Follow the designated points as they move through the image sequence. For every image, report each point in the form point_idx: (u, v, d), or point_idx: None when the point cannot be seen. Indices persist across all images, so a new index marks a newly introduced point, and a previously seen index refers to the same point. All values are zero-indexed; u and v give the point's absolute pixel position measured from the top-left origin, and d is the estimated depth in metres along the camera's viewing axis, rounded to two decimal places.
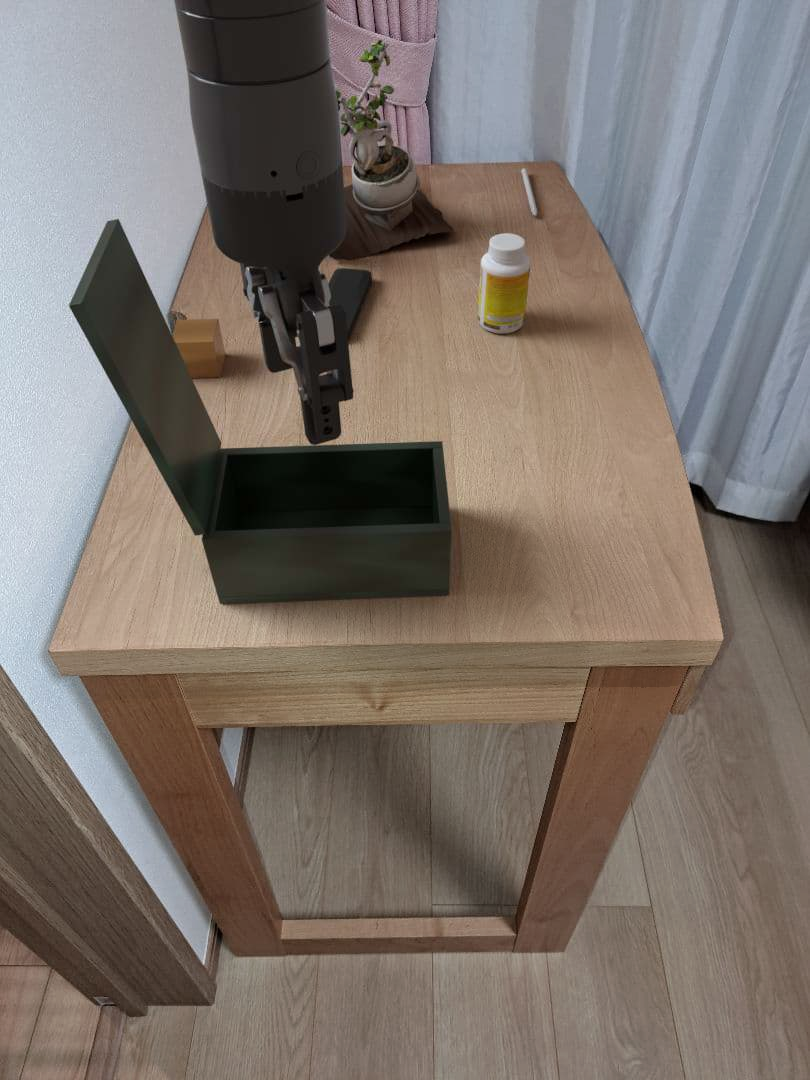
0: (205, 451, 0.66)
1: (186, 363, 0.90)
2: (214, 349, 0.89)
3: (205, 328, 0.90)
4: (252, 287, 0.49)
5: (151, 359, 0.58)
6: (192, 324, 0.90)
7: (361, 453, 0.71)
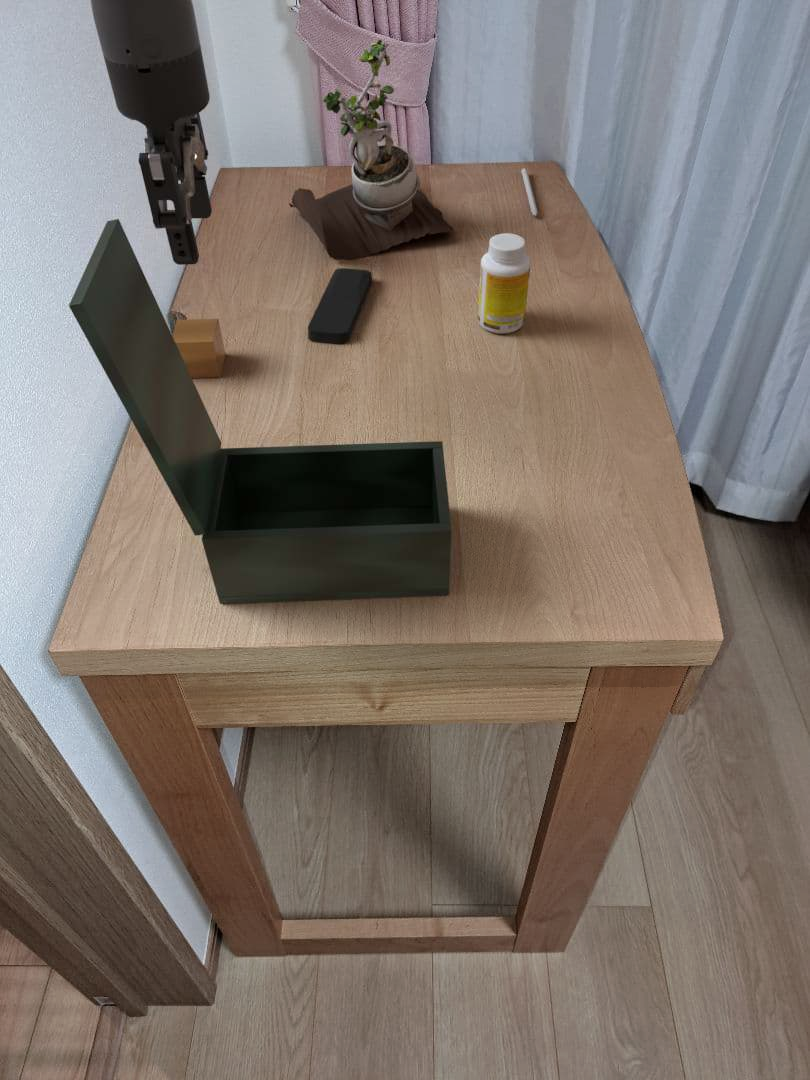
0: (205, 451, 0.66)
1: (186, 363, 0.90)
2: (214, 349, 0.89)
3: (205, 328, 0.90)
4: None
5: (151, 359, 0.58)
6: (192, 324, 0.90)
7: (361, 453, 0.71)
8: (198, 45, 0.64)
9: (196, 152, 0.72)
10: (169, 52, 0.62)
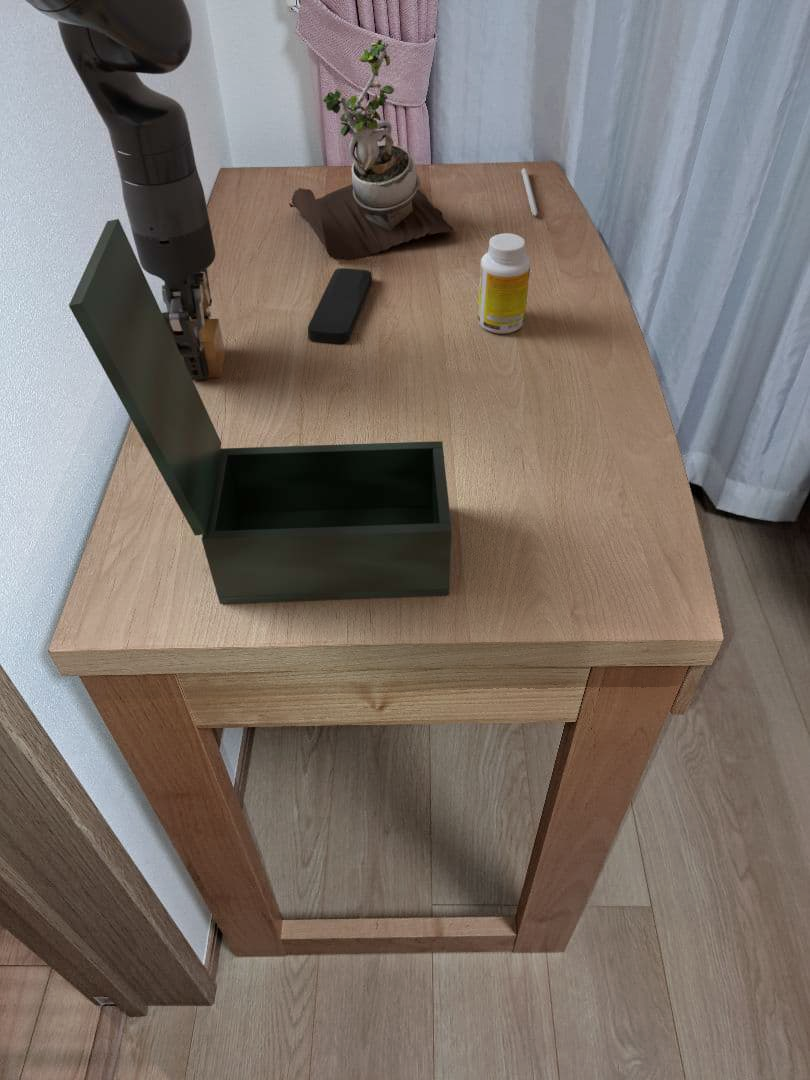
0: (205, 451, 0.66)
1: None
2: (214, 349, 0.89)
3: (205, 328, 0.90)
4: None
5: (151, 359, 0.58)
6: None
7: (361, 453, 0.71)
8: (207, 218, 0.80)
9: (202, 296, 0.88)
10: (184, 228, 0.78)
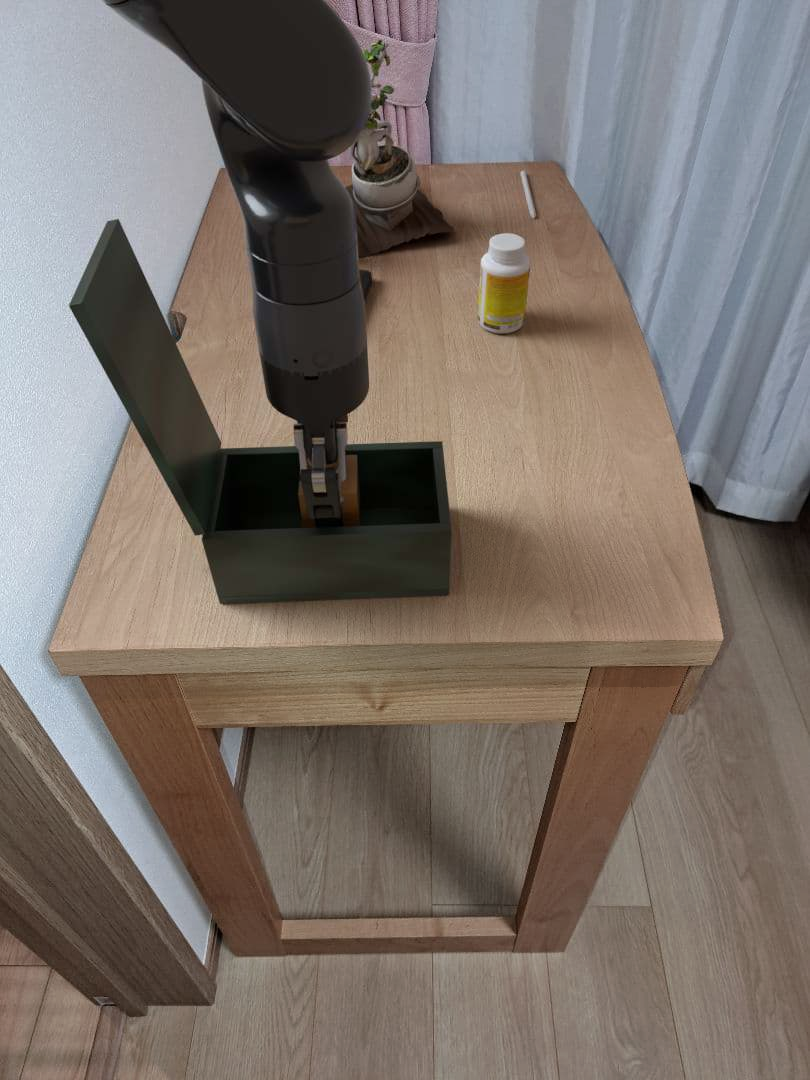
0: (205, 451, 0.66)
1: None
2: (356, 501, 0.65)
3: None
4: None
5: (151, 359, 0.58)
6: None
7: (361, 453, 0.71)
8: (366, 340, 0.57)
9: None
10: (341, 359, 0.55)
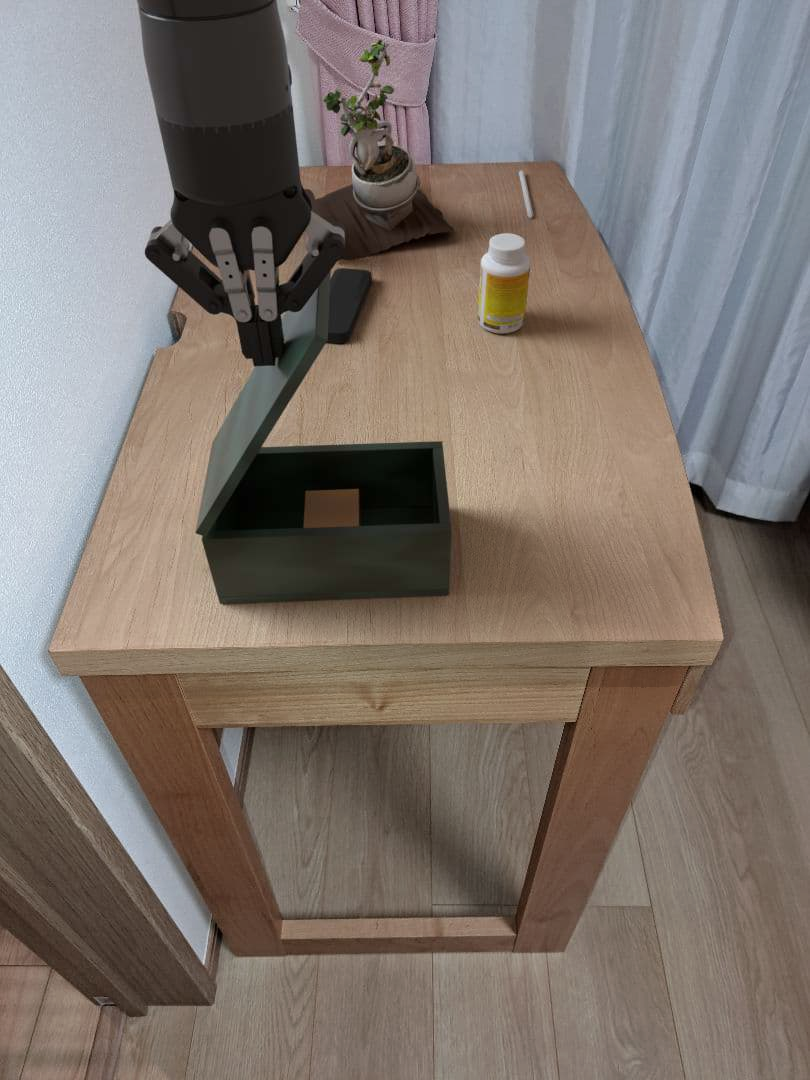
0: None
1: None
2: None
3: (345, 504, 0.69)
4: (229, 239, 0.49)
5: None
6: (327, 498, 0.70)
7: (361, 453, 0.71)
8: None
9: None
10: None
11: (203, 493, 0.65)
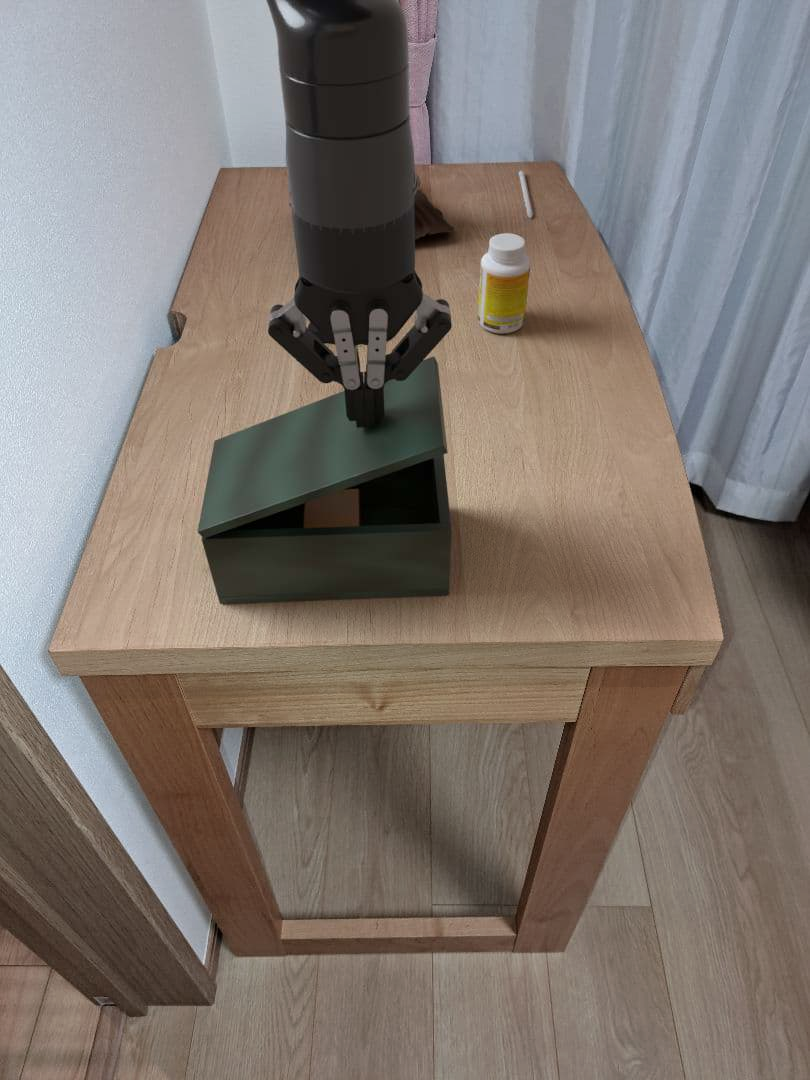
0: None
1: None
2: None
3: (345, 504, 0.69)
4: (348, 319, 0.54)
5: None
6: (327, 498, 0.70)
7: None
8: None
9: None
10: None
11: (207, 493, 0.65)
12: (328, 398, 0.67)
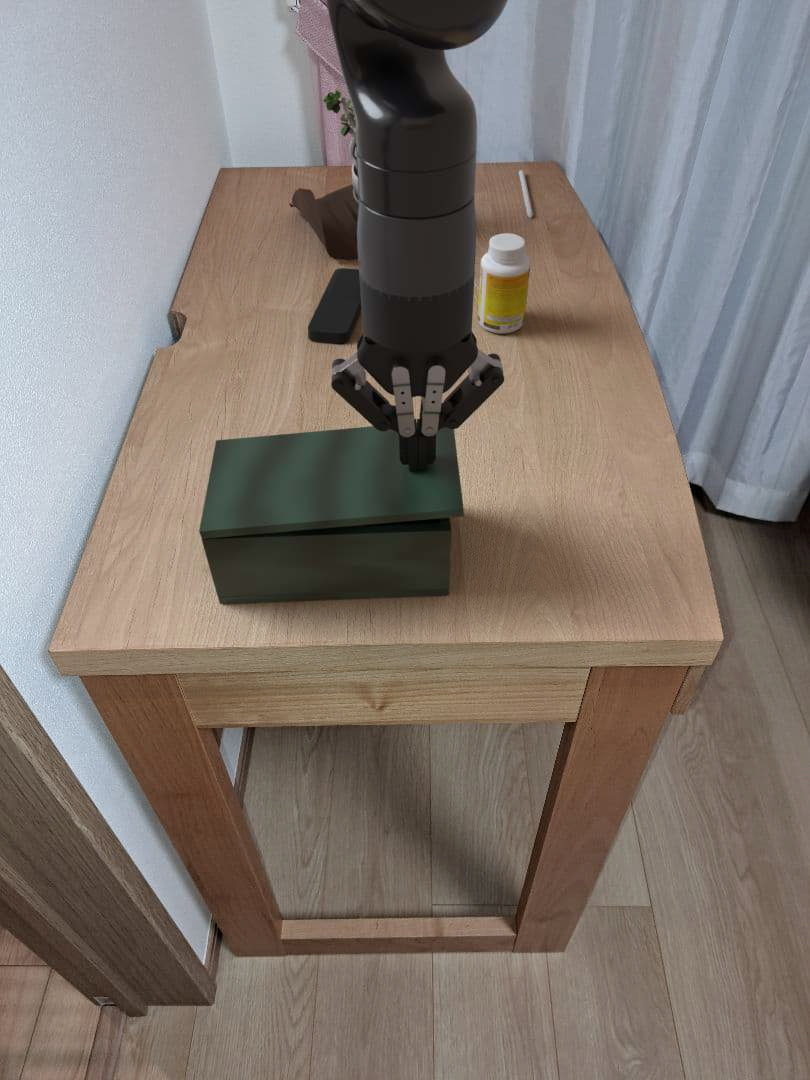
0: None
1: None
2: None
3: None
4: (408, 375, 0.57)
5: None
6: None
7: None
8: None
9: None
10: None
11: (209, 493, 0.65)
12: (343, 430, 0.69)
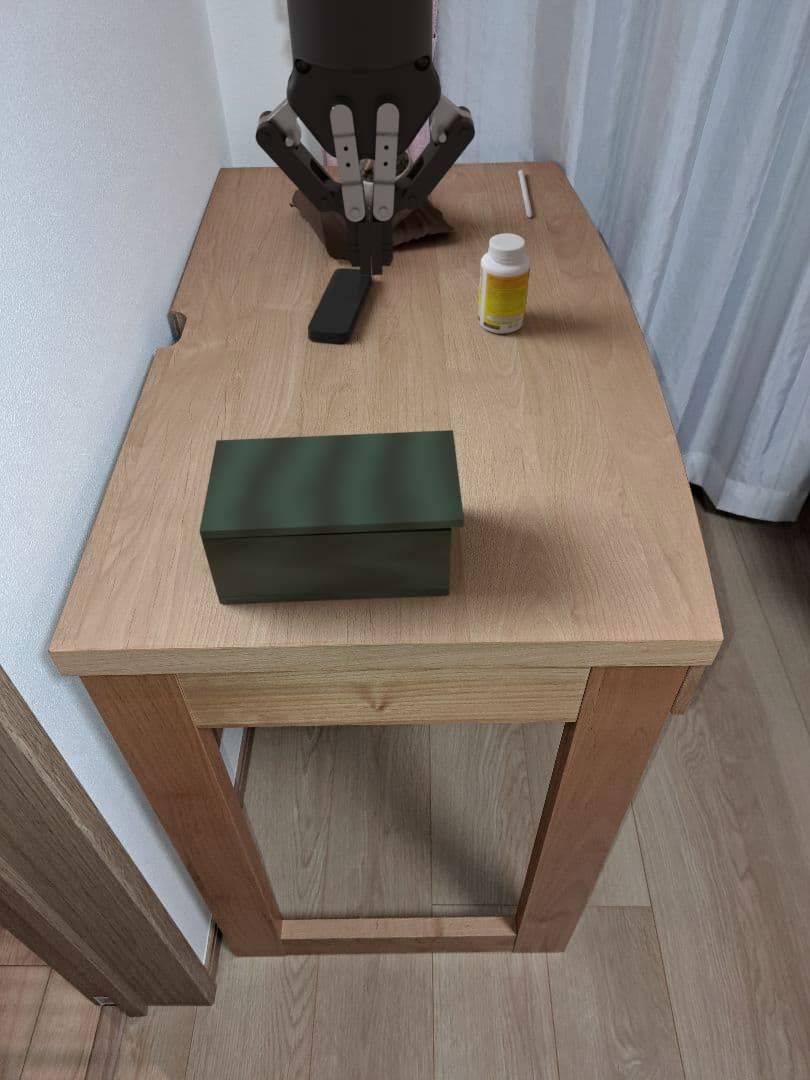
0: None
1: None
2: None
3: None
4: (352, 118, 0.45)
5: None
6: None
7: None
8: None
9: None
10: None
11: (210, 493, 0.65)
12: (344, 436, 0.70)
